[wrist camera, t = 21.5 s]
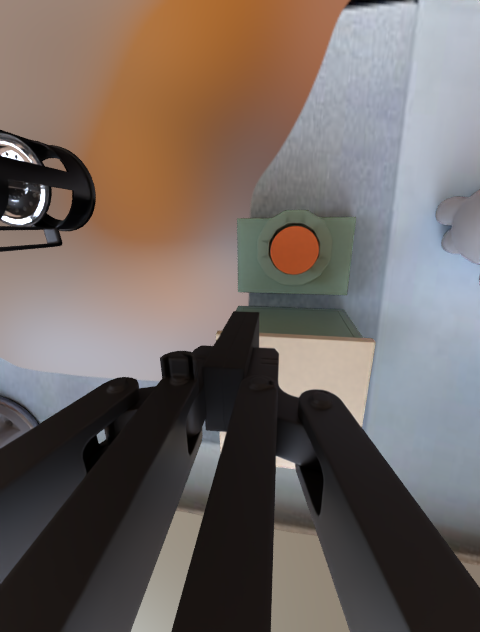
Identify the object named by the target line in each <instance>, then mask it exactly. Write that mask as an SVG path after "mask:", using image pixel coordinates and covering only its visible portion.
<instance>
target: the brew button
mask: <svg viewBox="0 0 480 632" xmlns="http://www.w3.org/2000/svg"><path fill="white" fill-rule="evenodd" d="M318 254H319V244H318V241H317V239H316V237H315V235H314V234H313V233H312V232H311V231H310V230H308V229H307V228H304V227H301V226H290V227H287V228H285V229H283V230H282V231H280V232H279V233H278V234H277V235H276V237H275V238H274V240H273V242H272V245H271V258H272V261H273V263H274V265H275V266H276V267H277V268H278V269H279V270H280V271H282V272H284V273H286V274H291V275H296V274H301V273H303V272H306V271H307V270H309V269H310V268H311V267H312V266H313V265H314V263H315V262H316V260H317V257H318Z"/></svg>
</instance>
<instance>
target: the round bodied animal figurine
mask: <svg viewBox="0 0 480 632" xmlns="http://www.w3.org/2000/svg"><path fill="white" fill-rule="evenodd" d="M436 219H437V221H438V222H439V223H441V224H443V225H452V228H451V229H450V230H449V231H447V232H446V233H445V235H444V236H443V238H442V241H441V245H442V247H443V249H444V250H445V251H447V252H449V253H452V254H461V255H462V256H463V257H464V258H466V259H467V260H469V261H471V262H473V263H475V264H478V265H480V190H478V191H477V192H475V193H474V194H473V195H472V196H470V197H460V196H456V197H451V198H448V199H446V200H444V201H443V202H441V203H440V205H439V206H438V208H437V210H436ZM479 284H480V276H479Z"/></svg>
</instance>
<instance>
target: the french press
mask: <svg viewBox="0 0 480 632" xmlns="http://www.w3.org/2000/svg"><path fill="white" fill-rule="evenodd" d="M48 158H58V159H60V161H61V162H62V163H63V165H64V167H65V169H66V171H67V172H65V171H61V170H57V169H53V168H49V167H45V166H44V164H43V162H42V161H43V160H45V159H48ZM51 187H56V188H62V189H68V190H72V205H71V208H70V211H69V214H68V215H67V217H66V218H65V219H64V220H63V221H62V220H57V219H55V218H53V217H51V216H49V215H48V214H47V213H46V212H47V211H48V209H49V206H50V202H51V196H52V193H51V190H52V189H51ZM95 196H96V194H95V187H94V183H93V180H92V177H91V175H90V173H89V171H88V169H87V168H86V166H85V165H84V164H83V162H82V161H81V160H80V159H79V158H78V157H77V156H76V155H75V154H73V153H72V152H70V151H69V150H67V149H64V148H62V147H58V146H53V145H47V144H44V143H41V142H38V141H33V140H29V139H26V138H23V137H20V136H17V135H14V134H11V133H8V132H5V131H2V130H0V220H1V221H2V222H3V223H6V224H8V225H10V226H7V227H6V226H0V230H44V232H45V236H46V239H47V244H38V245H24V246H10V247H0V252H2V251H13V250H24V249H35V248H46V247H55V246H61V245H62V240H61V236H60V233H59V230H60V231H73V230H77V229H79V228H81V227H83V226H84V225H85V224H86V223H87V222H88V221H89V219H90V218H91V216H92V214H93V211H94V207H95V202H96V201H95V200H96V199H95V198H96V197H95Z"/></svg>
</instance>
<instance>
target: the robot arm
mask: <svg viewBox="0 0 480 632" xmlns="http://www.w3.org/2000/svg"><path fill="white" fill-rule="evenodd" d="M160 361H161V370H162V380H161V381H160V382H159V383H158V385H157V386H155V387H148V388H140V389H139V384H138V382H137V380H136V379H133V378H129V377H122V378H116V379H113V380H110V381H108V382H106V383H104V384H102V385H101V386H99V387H98V388H96V389H94V390H93V391H91V392H90V393H88V394H87V395H85V396H83V397H82V398H80V399H79V400H77V401H75V402H74V403H72V404H71V405H69V406H67V407H66V408H64V409H63V410H61V411H59V412H58V413H56V414H55V415H53V416H51V417H50V418H48V419H47V420H45V421H43V422H42V423H40V424H38V423H37V421H36V420H35V419H34V417H33V416H32V415H31V414H30V413H29V412H28V411H26V410H25V409H24V408H23V407H21V406H20V405H18V404H17V403H15V402H13V401H11V400H9V399H6V398H4V397H0V632H131V629H132V626H133V623H134V621H135V618H136V615H137V613H138V610H139V607H140V605H141V602H142V599H143V597H144V594H145V591H146V589H147V586H148V583H149V581H150V578H151V575H152V573H153V570H154V567H155V564H156V562H157V559H158V557H159V554H160V551H161V549H162V546H163V543H164V541H165V538H166V535H167V532H168V530H169V527H170V524H171V522H172V519H173V516H174V514H175V511H176V508H177V506H178V503H179V500H180V498H181V495H182V492H183V490H184V487H185V484H186V482H187V479H188V476H189V474H190V471H191V468H192V466H193V463H194V460H195V458H196V455H197V452H198V449H199V447H200V444H201V441H202V426H203V423H204V421H205V422H206V430H210V431H220V432H226V436H225V440H224V443H223V447H222V450H221V454H220V458H219V461H218V465H217V469H216V472H215V476H214V479H213V483H212V487H211V490H210V494H209V498H208V501H207V505H206V508H205V512H204V516H203V519H202V523H201V527H200V530H199V534H198V537H197V541H196V545H195V548H194V552H193V555H192V559H191V563H190V566H189V570H188V574H187V577H186V581H185V584H184V588H183V592H182V595H181V599H180V603H179V606H178V610H177V613H176V617H175V621H174V624H173V628H172V632H271V603H272V570H273V537H274V506H275V474H276V456H277V457H280V458H282V459H285V460H288V461H290V462H293V463H295V469H296V472H297V475H298V478H299V481H300V484H301V487H302V490H303V493H304V496H305V499H306V502H307V505H308V508H309V511H310V514H311V517H312V520H313V523H314V526H315V529H316V532H317V535H318V538H319V541H320V544H321V547H322V549H323V552H324V555H325V558H326V561H327V564H328V567H329V570H330V573H331V576H332V579H333V582H334V585H335V588H336V591H337V594H338V597H339V600H340V603H341V606H342V609H343V612H344V615H345V618H346V621H347V624H348V627H349V630H350V632H480V588H479V587H478V585H477V583H476V582H475V581H474V579H473V578H472V577H471V576H470V574H469V573H468V571H467V570H466V569H465V567H464V566H463V565H462V563H461V562H460V560H459V559H458V558H457V556H456V555H455V554H454V552H453V551H452V550H451V548H450V547H449V545H448V544H447V543H446V541H445V540H444V539H443V537H442V536H441V535H440V533H439V532H438V531H437V529H436V528H435V526H434V525H433V524H432V522H431V521H430V520H429V518H428V517H427V516H426V514H425V513H424V512H423V510H422V509H421V507H420V506H419V505H418V503H417V502H416V501H415V499H414V498H413V497H412V495H411V494H410V493H409V491H408V490H407V488H406V487H405V486H404V484H403V483H402V482H401V480H400V479H399V478H398V476H397V475H396V474H395V472H394V471H393V469H392V468H391V467H390V465H389V464H388V463H387V461H386V460H385V459H384V457H383V456H382V455H381V453H380V452H379V450H378V449H377V448H376V446H375V445H374V444H373V442H372V441H371V440H370V438H369V437H368V436H367V434H366V433H365V431H364V430H363V429H362V427H361V426H360V425H359V423H358V422H357V421H356V419H355V418H354V417H353V415H352V414H351V412H350V411H349V410H348V408H347V407H346V406H345V404H344V403H343V402H342V400H341V399H340V398H339V397H338V396H336V395H335V394H333V393H331V392H328V391H325V390H320V389H319V390H318V389H312V390H307V391H305V392H303V393H301V395H300V397H299V398H298V397H295V396H292V395H289V394H287V393H286V392H284V391H283V390H282V389H281V388H280V387H279V384H278V372H279V353H278V352H277V350H276V349H275V348H259V312H239V311H234V312H233V313H232V315H231V317H230V319H229V320H228V322H227V324H226V326H225V327H224V329H223V331H222V332H221V334H220V336H219V337H218V339H217V341H216V343H215V344H214V346H200V347H198V348H197V349H195V350H194V351H193V352H188V351H176V352H170V353H168V354H165V355H163V356H162V357H161V358H160ZM103 429H105V434H106V440H105V441H104V442H102V443H100V444H99V443H98V440H97V434H98V433H99V432H100V431H102V430H103Z"/></svg>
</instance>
